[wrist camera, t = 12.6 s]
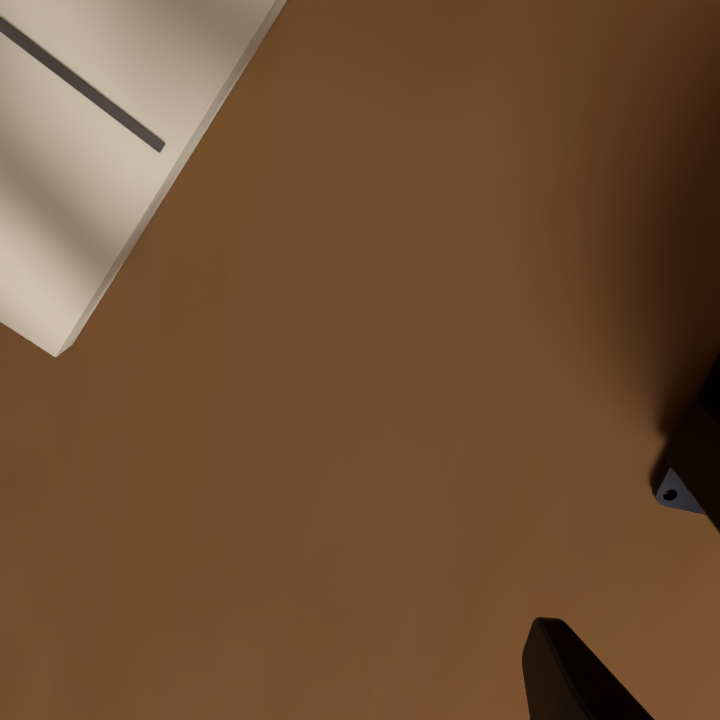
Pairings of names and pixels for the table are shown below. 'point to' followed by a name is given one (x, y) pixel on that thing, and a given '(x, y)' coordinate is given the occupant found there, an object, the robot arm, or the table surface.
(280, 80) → the table surface
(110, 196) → the ash board
